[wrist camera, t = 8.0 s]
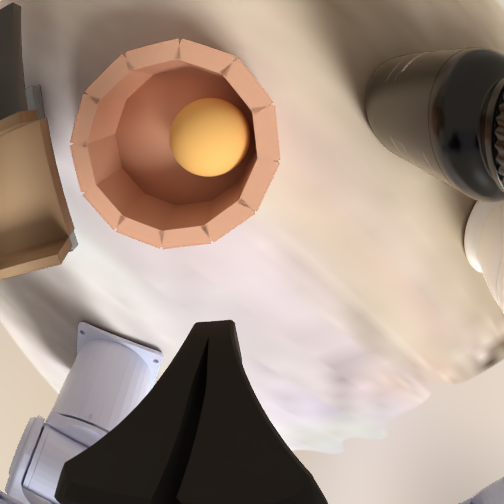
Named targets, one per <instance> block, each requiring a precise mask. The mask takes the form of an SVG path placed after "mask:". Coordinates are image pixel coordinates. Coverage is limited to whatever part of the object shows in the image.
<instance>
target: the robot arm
mask: <svg viewBox="0 0 504 504" xmlns="http://www.w3.org/2000/svg"><path fill="white" fill-rule="evenodd" d="M156 359H157V360H156ZM162 359H163V354H162V353H161V352H159V351H156V350H154V349H151V348H148V347H145V346H142V345H140V344H137V343H134V342H132V341H129V340H126V339H124V338H121V337H119V336H116V335H114V334H111V333H109V332H106V331H104V330H101V329H99V328H96V327H94V326H92V325H89V324H87V323H85V322H80V323H79V325H78V332H77V358H76V360H75V362H74V364H73V366H72V368H71V370H70V372H69V374H68V376H67V378H66V380H65V382H64V384H63V387H62V389H61V391H60V393H59V395H58V398H57V400H56V402H55V404H54V407H53V409H52V411H51V412H50V414H49V416H48V418H47V420H46V422H45V423H44V420H45V419H44V418H43V417H41V416H37V418H36V417H33V418H30V420H29V422H28V424H27V426H26V428H25V430H24V433H23V435H22V437H21V440H20V442H19V445H18V447H17V450H16V453H15V455H14V458H13V461H12V463H11V467H10V470H9V478H8V482H7V484H6V488H5V491H6V493H7V494H5V493H3V492H1V491H0V504H328V502H327V500H326V498H325V497H324V495H323V493H322V491H321V490H320V488H319V486H318V485H317V483H316V481H315V480H314V478H313V476H312V474H311V473H310V472H309V471H308V470H307V469H306V468H305V467H304V465H303V464H302V463H301V462H300V461H299V459H298V458H297V457H296V456H295V455H294V454H293V452H292V451H291V450H290V448H289V447H288V446H287V444H286V443H285V442H284V440H283V439H282V438H281V436H280V435H279V433H278V432H277V430H276V429H275V427H274V426H273V424H272V423H271V421H270V420H269V418H268V417H267V415H266V413H265V411H264V410H263V408H262V406H261V404H260V403H259V401H258V399H257V397H256V395H255V393H254V391H253V389H252V387H251V385H250V382H249V380H248V378H247V376H246V373H245V371H244V368H243V365H242V357H241V352H240V347H239V342H238V337H237V332H236V327H235V322H233V321H232V320H224V321H211V322H197V323H195V324H194V326H193V328H192V329H191V331H190V333H189V335H188V336H187V338H186V340H185V341H184V343H183V345H182V346H181V348H180V349H179V351H178V353H177V354H176V356H175V357H174V359H173V360H172V362H171V363H170V365H169V366H168V368H167V369H166V371H165V372H164V373H163V375H162V376H161V377H160V379H159V380H158V381H157V383H156V384H155V385H154V382H155V379H156V376H157V374H158V371H159V368H160V365H161V362H162ZM153 385H154V387H153ZM459 504H504V477H503V478H501V479H499V480H498V481H496V482H494V483H492V484H490V485H489V486H487V487H485V488H484V489H482V490H480V491H479V492H478V493H476V494H475V495H473V497H472V498H470V499H468V500H466V501H464V502H462V503H459Z"/></svg>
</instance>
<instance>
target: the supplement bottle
mask: <svg viewBox="0 0 504 504" xmlns="http://www.w3.org/2000/svg"><path fill="white" fill-rule="evenodd" d="M366 113H367V117H368V121H369V124H370V126H371V128H372V131H373V132H374V134H375V136H376V137H377V139H378V140H379V141H380V142H381V143H382V145H383V146H384V147H386V148H387V149H388V150H389V151H391V152H392V153H394V154H395V155H397V156H399V157H401V158H402V159H404V160H406V161H408V162H410V163H412V164H413V165H415V166H417V167H419V168H421V169H422V170H424V171H426V172H428V173H429V174H431V175H433V176H435V177H436V178H438V179H440V180H441V181H443V182H445V183H446V184H448V185H449V186H451V187H453V188H454V189H456V190H458V191H459V192H461V193H462V194H464V195H466V196H468V197H470V198H472V199H474V200H477V201H481V202H499V201H503V200H504V55H503V54H501V53H499V52H497V51H494V50H491V49H486V48H462V49H450V50H440V51H431V52H423V53H416V54H409V55H404V56H399V57H395V58H393V59H390V60H388V61H387V62H385V63H384V64H382V65H381V66H380V67H379V68H378V69H377V70H376V71H375V73H374V74H373V76H372V78H371V80H370V82H369V84H368V88H367V92H366Z"/></svg>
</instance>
